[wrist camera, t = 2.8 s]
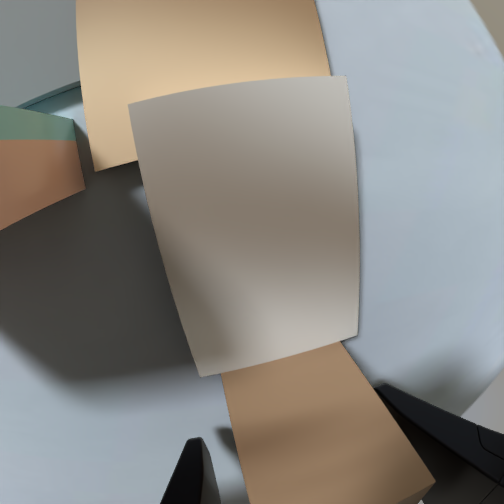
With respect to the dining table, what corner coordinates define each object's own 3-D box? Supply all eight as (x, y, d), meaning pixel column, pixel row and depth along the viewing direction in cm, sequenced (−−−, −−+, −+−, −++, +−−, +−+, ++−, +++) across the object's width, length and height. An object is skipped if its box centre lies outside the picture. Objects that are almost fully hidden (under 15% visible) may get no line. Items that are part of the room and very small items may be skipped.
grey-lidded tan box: (340, 425, 10) (397, 532, 6) (234, 456, 10) (266, 577, 5) (332, 79, 6) (562, 53, 1) (133, 106, 5) (-35, 44, 1)
